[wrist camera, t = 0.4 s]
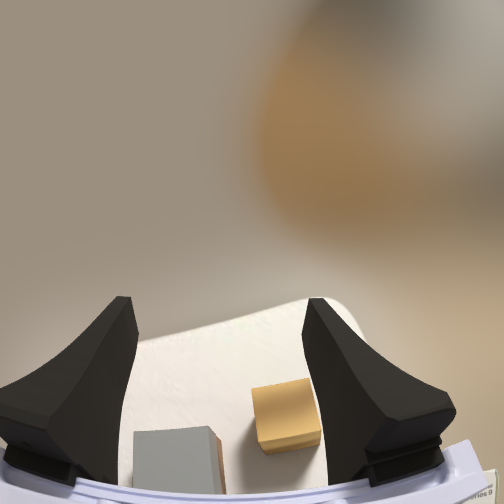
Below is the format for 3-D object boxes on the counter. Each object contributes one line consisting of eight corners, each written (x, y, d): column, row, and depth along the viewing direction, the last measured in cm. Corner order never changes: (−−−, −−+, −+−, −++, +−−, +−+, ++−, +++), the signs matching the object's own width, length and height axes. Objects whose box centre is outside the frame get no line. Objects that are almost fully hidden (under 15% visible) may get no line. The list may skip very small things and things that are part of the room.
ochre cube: (319, 444, 25) (321, 429, 22) (266, 455, 25) (258, 441, 22) (309, 399, 29) (309, 377, 26) (259, 409, 29) (251, 388, 26)
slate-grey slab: (223, 504, 20) (215, 502, 18) (146, 506, 20) (133, 502, 18) (215, 434, 25) (207, 425, 24) (145, 439, 25) (133, 431, 24)
